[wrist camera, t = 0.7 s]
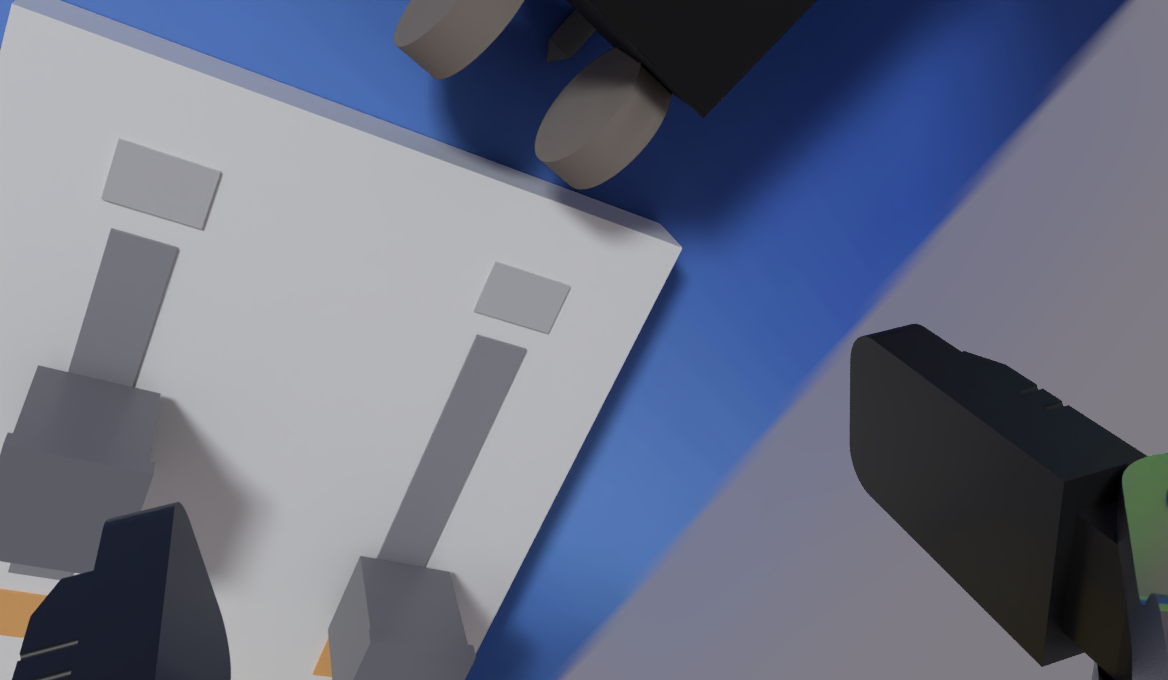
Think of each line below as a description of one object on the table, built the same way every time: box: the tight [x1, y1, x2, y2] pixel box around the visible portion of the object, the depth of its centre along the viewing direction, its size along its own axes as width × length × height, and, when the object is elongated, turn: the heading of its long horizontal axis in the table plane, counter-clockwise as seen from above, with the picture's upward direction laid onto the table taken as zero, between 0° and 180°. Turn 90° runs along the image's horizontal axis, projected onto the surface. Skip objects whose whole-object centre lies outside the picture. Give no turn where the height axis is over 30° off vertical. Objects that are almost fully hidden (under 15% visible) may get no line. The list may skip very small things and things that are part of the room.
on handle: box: [328, 556, 476, 680], centre depth 31 cm, size 3×3×4 cm
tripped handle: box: [0, 365, 161, 574], centre depth 26 cm, size 3×3×4 cm
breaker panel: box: [0, 0, 682, 680], centre depth 31 cm, size 21×18×2 cm
